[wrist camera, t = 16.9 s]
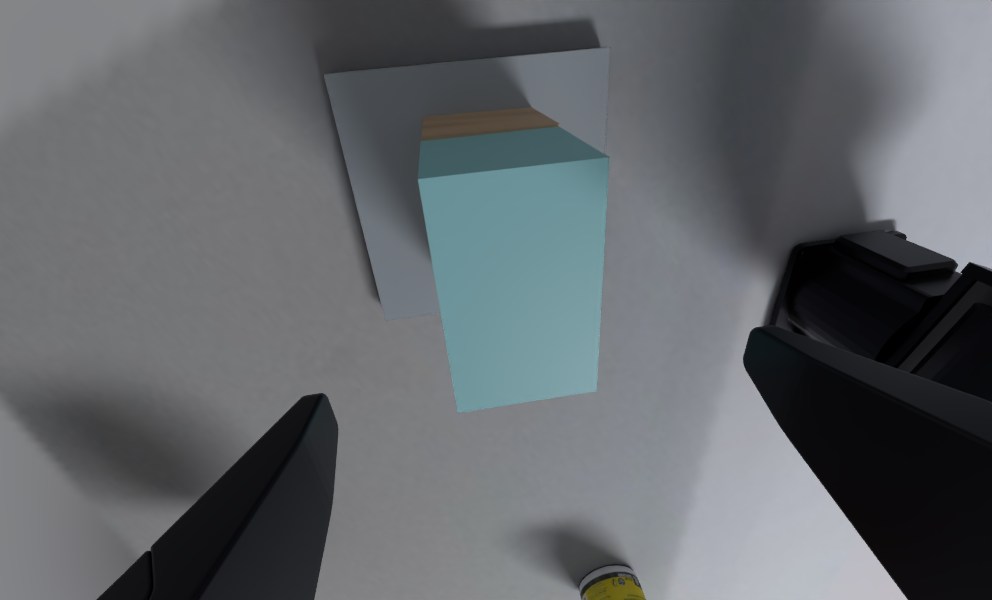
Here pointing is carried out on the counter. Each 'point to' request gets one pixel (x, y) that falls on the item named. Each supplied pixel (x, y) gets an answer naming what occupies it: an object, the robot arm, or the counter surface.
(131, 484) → the counter surface
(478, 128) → the walnut brick
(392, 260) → the base plate
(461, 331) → the teal brick
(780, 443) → the counter surface
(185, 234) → the counter surface
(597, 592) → the supplement bottle
